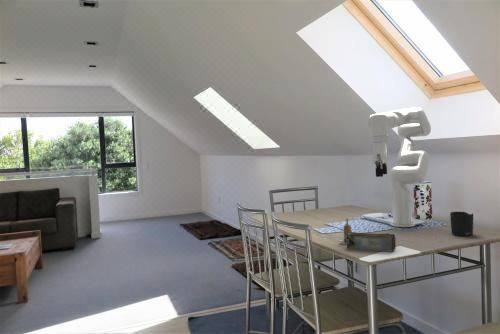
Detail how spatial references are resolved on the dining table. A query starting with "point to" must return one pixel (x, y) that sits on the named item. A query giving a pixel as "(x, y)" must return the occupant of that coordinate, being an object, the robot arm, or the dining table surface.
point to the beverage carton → (371, 241)
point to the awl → (346, 230)
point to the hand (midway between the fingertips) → (381, 175)
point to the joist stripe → (342, 242)
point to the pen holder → (461, 223)
